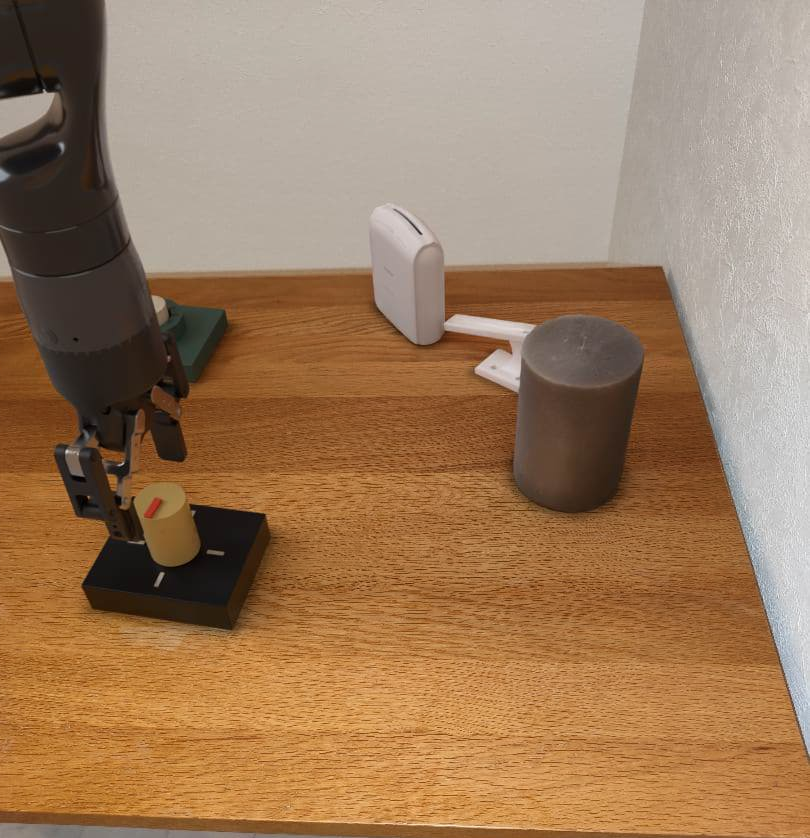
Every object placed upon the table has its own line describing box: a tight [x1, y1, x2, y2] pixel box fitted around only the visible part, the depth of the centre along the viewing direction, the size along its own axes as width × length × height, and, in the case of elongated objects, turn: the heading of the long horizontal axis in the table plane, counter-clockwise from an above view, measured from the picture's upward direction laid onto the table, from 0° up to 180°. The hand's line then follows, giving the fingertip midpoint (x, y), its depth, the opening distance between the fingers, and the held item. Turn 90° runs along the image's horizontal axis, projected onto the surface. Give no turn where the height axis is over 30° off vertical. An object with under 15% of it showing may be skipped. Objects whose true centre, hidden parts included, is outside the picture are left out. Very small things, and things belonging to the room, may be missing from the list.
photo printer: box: [368, 202, 446, 346], centre depth 92 cm, size 10×4×12 cm, turn 30°
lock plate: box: [80, 495, 271, 631], centre depth 73 cm, size 12×10×3 cm
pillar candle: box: [512, 313, 645, 513], centre depth 75 cm, size 10×10×15 cm
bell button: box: [151, 295, 169, 326], centre depth 92 cm, size 4×4×2 cm
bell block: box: [160, 298, 229, 384], centre depth 94 cm, size 12×10×4 cm
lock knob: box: [133, 481, 201, 567], centre depth 70 cm, size 4×4×6 cm
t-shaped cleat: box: [444, 313, 537, 394], centre depth 87 cm, size 4×20×5 cm, turn 51°
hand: (152, 496), depth 67 cm, fingers open, 8 cm apart
